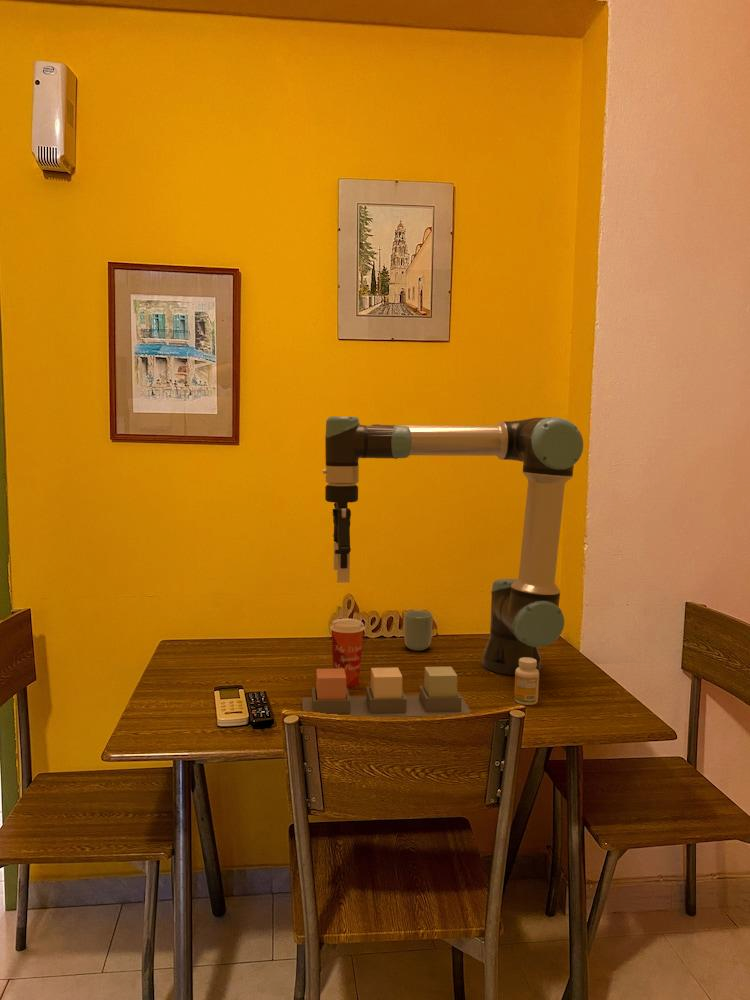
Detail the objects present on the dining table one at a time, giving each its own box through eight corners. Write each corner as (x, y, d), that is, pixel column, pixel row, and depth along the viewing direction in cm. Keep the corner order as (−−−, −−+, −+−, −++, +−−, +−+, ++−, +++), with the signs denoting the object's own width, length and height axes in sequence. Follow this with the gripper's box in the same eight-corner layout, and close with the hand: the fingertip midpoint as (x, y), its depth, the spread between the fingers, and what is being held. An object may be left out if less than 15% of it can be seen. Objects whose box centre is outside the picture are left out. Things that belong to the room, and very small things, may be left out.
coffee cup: (333, 690, 174) (334, 627, 173) (326, 678, 182) (327, 618, 181) (367, 687, 176) (369, 626, 175) (359, 676, 184) (360, 616, 183)
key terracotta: (343, 690, 164) (344, 668, 163) (345, 700, 158) (346, 677, 157) (316, 691, 163) (316, 668, 163) (317, 701, 157) (317, 678, 157)
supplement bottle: (521, 694, 174) (522, 654, 173) (542, 700, 171) (544, 659, 170) (509, 701, 170) (511, 660, 169) (531, 707, 167) (533, 665, 166)
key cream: (397, 689, 165) (398, 667, 165) (401, 699, 159) (402, 676, 159) (370, 689, 165) (371, 667, 164) (373, 700, 159) (374, 677, 158)
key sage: (450, 688, 167) (451, 666, 166) (456, 698, 161) (457, 675, 160) (424, 688, 166) (424, 666, 166) (429, 698, 160) (429, 676, 160)
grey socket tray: (459, 699, 170) (460, 681, 170) (472, 720, 159) (473, 701, 158) (302, 702, 166) (302, 684, 166) (303, 724, 154) (303, 705, 154)
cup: (400, 651, 205) (401, 615, 204) (407, 643, 212) (408, 609, 211) (428, 654, 203) (429, 618, 202) (434, 646, 210) (435, 611, 209)
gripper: (322, 479, 182) (322, 565, 184) (328, 489, 157) (327, 588, 159) (353, 479, 182) (353, 565, 185) (363, 489, 158) (362, 587, 160)
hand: (341, 575), depth 172 cm, fingers open, 13 cm apart
